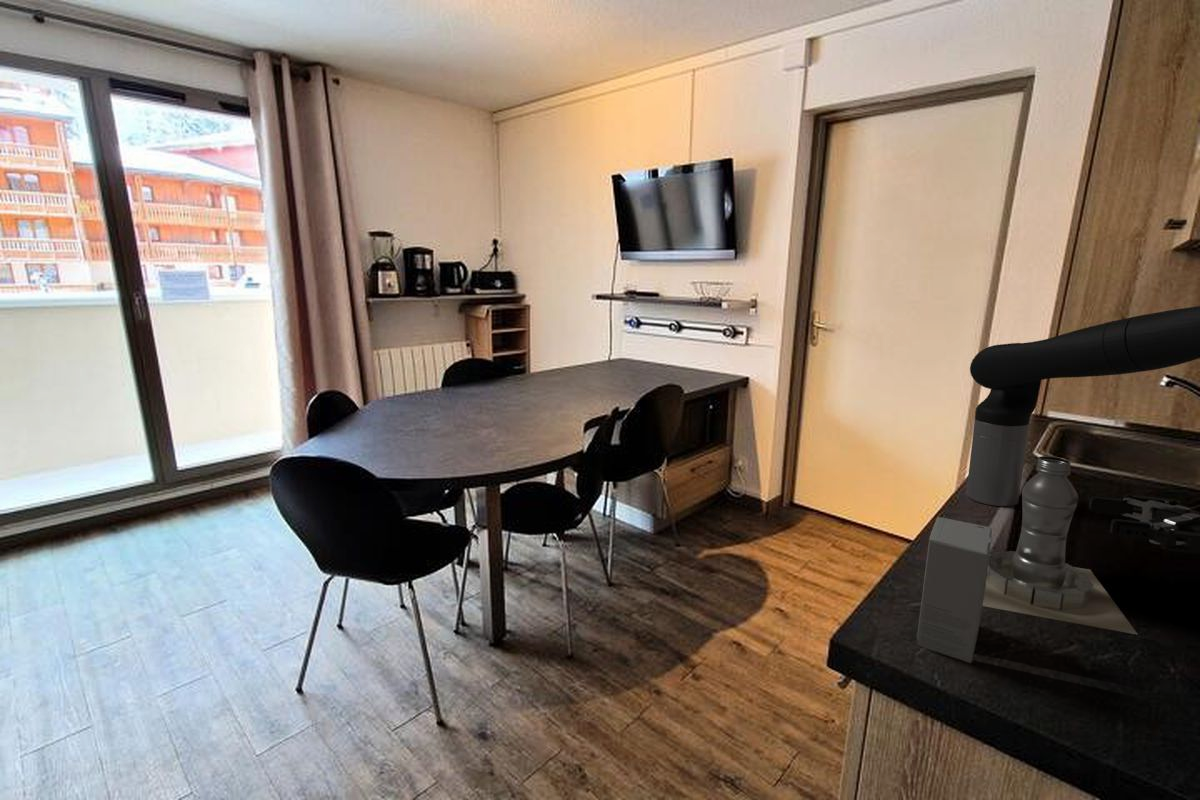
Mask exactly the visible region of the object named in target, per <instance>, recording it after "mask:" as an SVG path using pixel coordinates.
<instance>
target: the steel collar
mask: <svg viewBox="0 0 1200 800" xmlns="http://www.w3.org/2000/svg"><path fill="white" fill-rule="evenodd" d="M1015 552H1016V550H1015V551H1014V550H1009V551H1008V550H1006V551H996V552H993V553H991V555H990V556H989V564H988V572H987V582H988V583H989V584H990V585H991V586H993V587H994V588H996V589H997V590H998V591H1000V592H1001V593H1003V594H1006V596H1009V597H1012V598H1014V599H1017V600H1019V601H1022V602H1025V603H1027V604H1030V605H1031V604H1033V605H1034V606H1039V607H1045V608H1050V609H1056V610H1060V609H1061V610H1072V609H1082V608H1084V607H1085V606H1086V605H1087V604H1088V603H1089V602H1090V601H1091V596H1092V590H1093V583H1092V582H1091V580H1090V579H1089V578H1088V576H1087V575H1086V574H1085V573H1083V572H1082V571H1080V570H1078V569H1076V568H1074V567H1075V566H1072V565H1071V564H1069V563H1066V562H1065V565H1066V579H1065V581H1064V583H1065V584H1067V585H1069V586H1070V587H1072V589H1052V588H1046V587H1040V586H1034V585H1031V584H1029V583H1026V582H1023V581H1020V580H1017V579H1015V578H1012V577H1011V576H1009V575H1008V574H1006V573H1005V572H1003V571H1001V570H1007V569H1012V568H1011V562H1012V559H1013V556H1014V554H1015Z"/></svg>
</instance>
